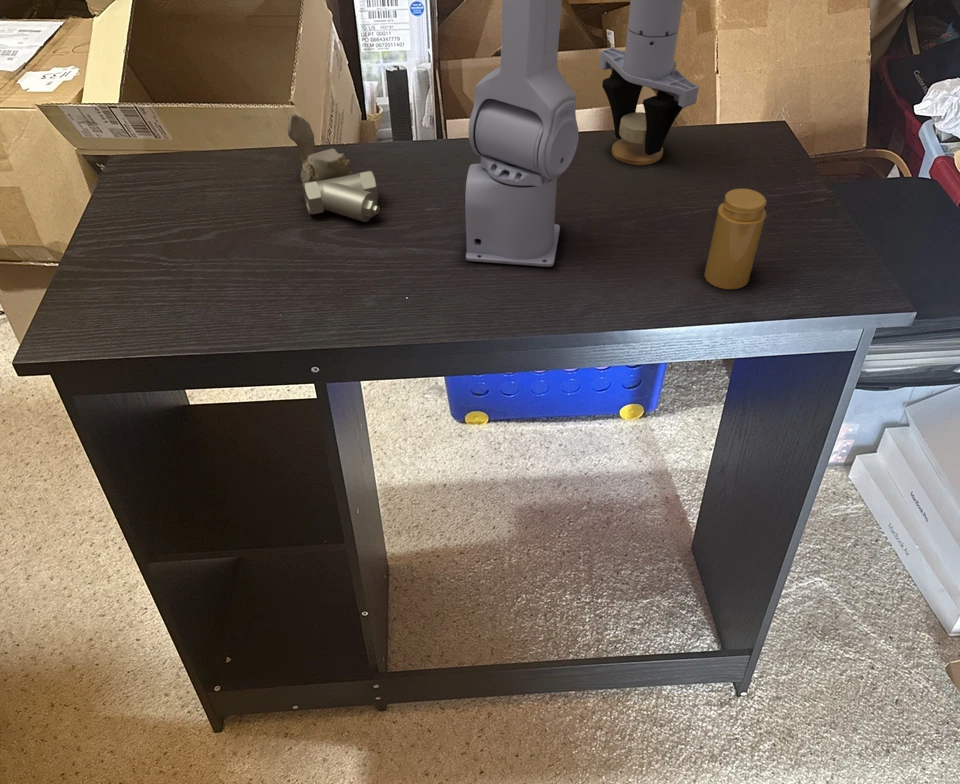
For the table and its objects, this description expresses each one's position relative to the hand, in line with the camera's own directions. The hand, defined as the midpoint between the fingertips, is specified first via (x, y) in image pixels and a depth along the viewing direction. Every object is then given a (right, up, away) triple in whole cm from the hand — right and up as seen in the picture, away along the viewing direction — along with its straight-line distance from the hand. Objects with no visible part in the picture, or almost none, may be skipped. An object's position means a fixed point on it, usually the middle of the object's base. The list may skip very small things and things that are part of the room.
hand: (638, 144), depth 104 cm
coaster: (0, -1, +1) cm, 1 cm away
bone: (-39, -7, -3) cm, 39 cm away
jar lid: (0, +2, -2) cm, 2 cm away
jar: (+6, -21, -17) cm, 28 cm away
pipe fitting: (-35, -12, -8) cm, 38 cm away
